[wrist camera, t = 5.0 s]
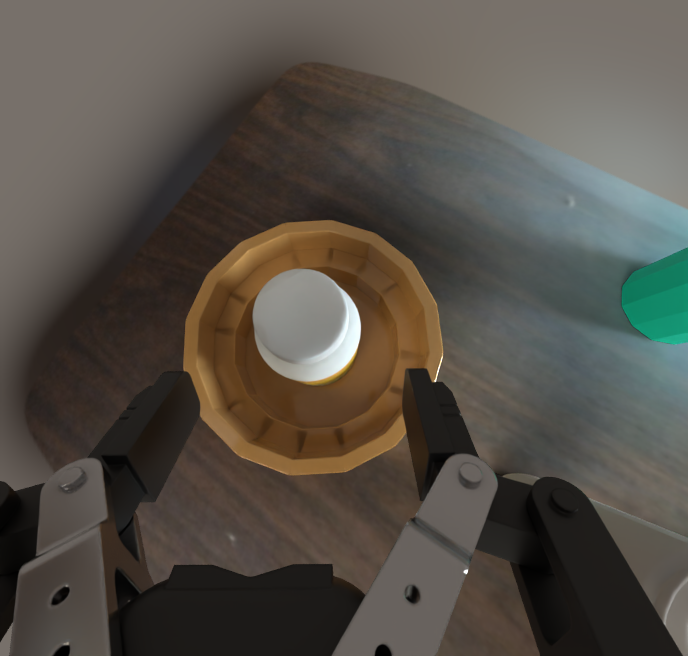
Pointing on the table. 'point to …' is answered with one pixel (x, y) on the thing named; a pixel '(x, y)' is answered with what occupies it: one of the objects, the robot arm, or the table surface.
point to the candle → (659, 299)
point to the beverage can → (649, 563)
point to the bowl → (295, 397)
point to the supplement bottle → (306, 327)
